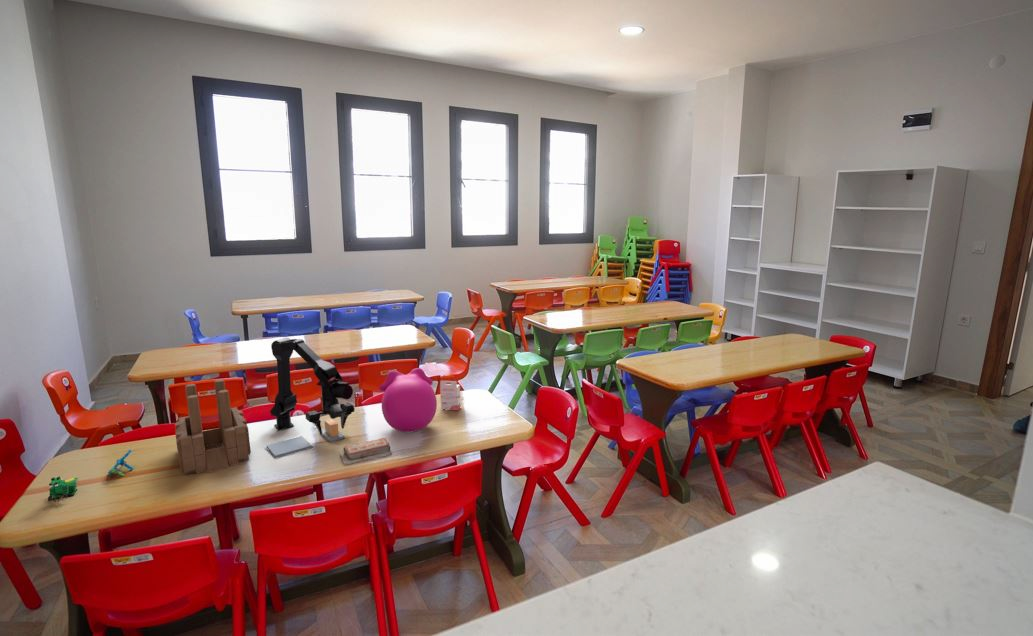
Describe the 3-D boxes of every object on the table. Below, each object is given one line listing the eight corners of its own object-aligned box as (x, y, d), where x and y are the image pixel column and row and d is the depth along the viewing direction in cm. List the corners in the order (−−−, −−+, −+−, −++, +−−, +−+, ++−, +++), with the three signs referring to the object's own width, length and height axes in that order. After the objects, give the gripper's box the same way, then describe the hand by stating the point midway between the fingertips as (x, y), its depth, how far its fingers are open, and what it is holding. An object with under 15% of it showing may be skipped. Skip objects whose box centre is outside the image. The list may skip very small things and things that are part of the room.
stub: (319, 433, 220) (318, 419, 219) (333, 429, 224) (332, 416, 223) (330, 442, 211) (329, 428, 210) (344, 438, 215) (343, 424, 214)
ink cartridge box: (461, 407, 249) (460, 378, 246) (458, 411, 244) (457, 381, 241) (443, 406, 250) (442, 377, 247) (440, 410, 245) (439, 380, 242)
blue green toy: (117, 460, 193) (133, 443, 191) (131, 469, 195) (148, 452, 193) (98, 479, 182) (116, 460, 181) (114, 488, 184) (131, 470, 183)
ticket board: (266, 447, 207) (266, 445, 206) (302, 438, 215) (302, 435, 215) (275, 458, 198) (275, 455, 197) (312, 447, 206) (312, 444, 206)
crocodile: (64, 481, 181) (59, 458, 180) (84, 477, 184) (80, 454, 182) (45, 509, 164) (40, 483, 162) (69, 504, 167) (64, 479, 165)
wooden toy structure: (181, 479, 182) (170, 405, 177) (178, 448, 207) (169, 383, 201) (253, 461, 195) (245, 392, 190) (242, 434, 219) (235, 373, 214)
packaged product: (385, 434, 208) (391, 443, 199) (385, 445, 209) (392, 455, 200) (338, 444, 199) (343, 454, 191) (339, 455, 200) (344, 466, 192)
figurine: (431, 415, 239) (429, 363, 234) (443, 435, 217) (441, 378, 212) (379, 422, 231) (376, 368, 226) (386, 444, 209) (382, 385, 204)
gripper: (313, 406, 202) (316, 443, 205) (358, 395, 214) (361, 431, 217) (303, 399, 210) (306, 435, 213) (348, 389, 222) (350, 423, 225)
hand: (331, 431), depth 217 cm, fingers open, 9 cm apart
